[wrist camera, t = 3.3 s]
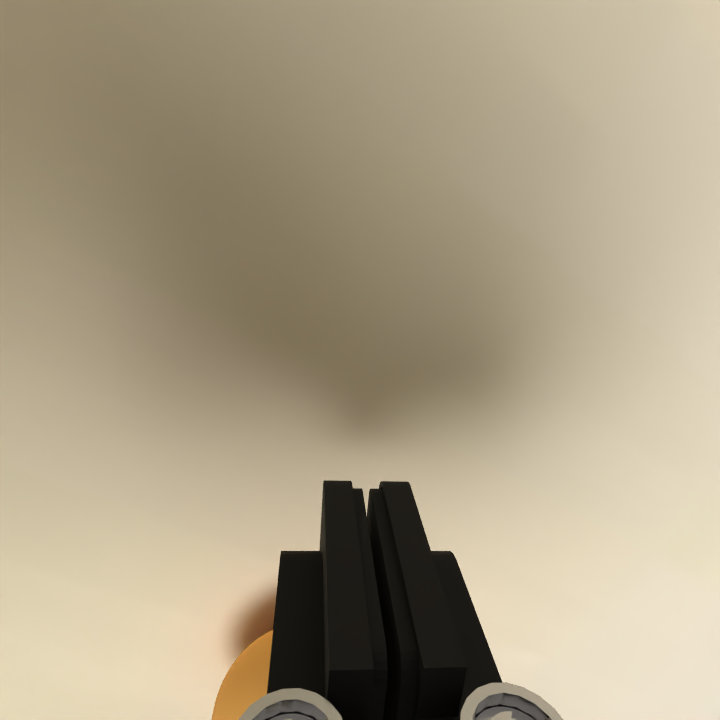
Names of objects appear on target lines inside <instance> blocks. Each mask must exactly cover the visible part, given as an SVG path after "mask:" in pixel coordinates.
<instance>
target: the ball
mask: <svg viewBox="0 0 720 720" xmlns="http://www.w3.org/2000/svg"><path fill="white" fill-rule="evenodd" d="M272 636H273V630H271V631H269V632H267V633H266V634H264V635H262V636H261V637H259V638H258V639H256V640H255V641H254V642H252V643H251V644H250V645H249V646H248V647H247V648H246V649H245V650H244V651H243V652H242V653H241V654H240V655H239V656H238V658H237V659H236V660H235V662H234V663H233V665H232V666H231V668H230V669H229V671H228V672H227V674H226V676H225V678H224V680H223V682H222V685H221V687H220V689H219V692H218V695H217V698H216V702H215V706H214V710H213V715H212V720H238V719H239V718H240V717H241V716H242V715H243V713H244V712H245V711H246V710H247V709H248V707H249V706H250V705H251V704H253V703H254V702H256V701H257V700H259V699H260V698H262V697H263V696H264V695H266V694H267V687H268V677H269V667H270V657H271V646H272Z"/></svg>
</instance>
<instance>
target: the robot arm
mask: <svg viewBox="0 0 720 720" xmlns="http://www.w3.org/2000/svg"><path fill="white" fill-rule="evenodd" d="M238 720H563V719H562V718H561V716H560V715H559V714H558V712H557V711H556V710H555V709H554V708H553V707H552V706H551V705H550V704H548V703H547V702H546V701H545V700H544V699H543V698H541V697H540V696H539V695H537V694H535V693H533V692H531V691H529V690H528V689H526V688H524V687H521V686H517V685H513V684H510V683H502V680H501V678H500V675H499V672H498V670H497V667H496V664H495V662H494V659H493V656H492V654H491V651H490V648H489V646H488V643H487V640H486V638H485V635H484V632H483V630H482V627H481V624H480V622H479V619H478V616H477V614H476V611H475V608H474V606H473V603H472V600H471V598H470V595H469V592H468V590H467V587H466V584H465V582H464V579H463V576H462V574H461V571H460V568H459V566H458V563H457V560H456V558H455V556H454V554H453V553H452V552H451V551H431V550H430V547H429V544H428V540H427V537H426V534H425V531H424V528H423V525H422V521H421V518H420V515H419V512H418V509H417V505H416V502H415V499H414V496H413V493H412V490H411V486H410V484H409V482H389V481H381V482H380V485H379V489H370V491H369V499H368V510H367V516H366V510H365V503H364V497H363V490H362V489H355V488H352V482H351V481H324V483H323V498H322V517H321V535H320V551H281V556H280V565H279V575H278V586H277V596H276V606H275V616H274V626H273V636H272V646H271V657H270V667H269V677H268V687H267V694H266V695H264V696H263V697H262V698H260V699H259V700H257V701H256V702H254V703H253V704H251V705H250V706H249V707H248V709H247V710H246V711H245V712H244V713H243V715H242V716H241V717H240V718H239V719H238Z"/></svg>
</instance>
